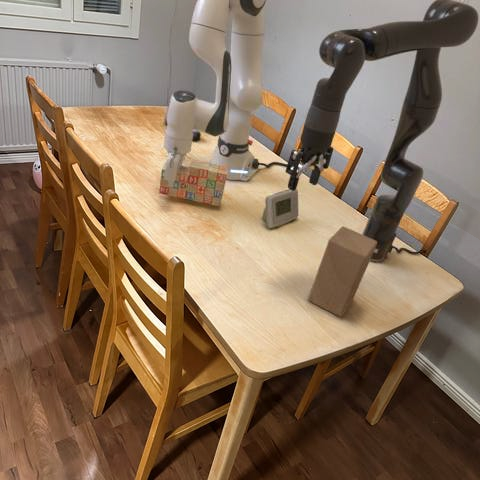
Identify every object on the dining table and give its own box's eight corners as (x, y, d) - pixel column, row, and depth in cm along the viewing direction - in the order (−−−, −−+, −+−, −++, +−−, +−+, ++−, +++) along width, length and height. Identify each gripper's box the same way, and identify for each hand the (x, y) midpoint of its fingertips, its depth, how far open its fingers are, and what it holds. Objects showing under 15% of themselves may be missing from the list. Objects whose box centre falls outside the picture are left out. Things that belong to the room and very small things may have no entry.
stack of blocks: (158, 193, 149) (162, 160, 143) (162, 186, 154) (166, 153, 148) (220, 206, 150) (227, 174, 144) (222, 198, 156) (228, 166, 149)
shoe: (204, 141, 203) (208, 115, 196) (182, 142, 197) (185, 115, 190) (182, 121, 220) (185, 97, 213) (161, 121, 214) (164, 96, 207)
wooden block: (340, 318, 116) (366, 256, 105) (306, 300, 119) (328, 239, 108) (352, 300, 123) (378, 241, 113) (320, 283, 127) (342, 225, 116)
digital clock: (267, 230, 146) (275, 202, 140) (252, 217, 152) (258, 189, 146) (303, 223, 155) (312, 197, 149) (287, 210, 161) (295, 184, 155)
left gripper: (182, 157, 134) (176, 197, 141) (192, 135, 151) (186, 171, 159) (161, 152, 134) (157, 193, 141) (174, 131, 151) (169, 168, 158)
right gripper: (313, 134, 97) (295, 198, 106) (350, 128, 107) (330, 188, 115) (289, 122, 102) (273, 184, 110) (326, 117, 111) (308, 176, 119)
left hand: (173, 181), depth 150 cm, fingers closed on stack of blocks, 6 cm apart
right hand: (302, 186), depth 113 cm, fingers open, 8 cm apart
